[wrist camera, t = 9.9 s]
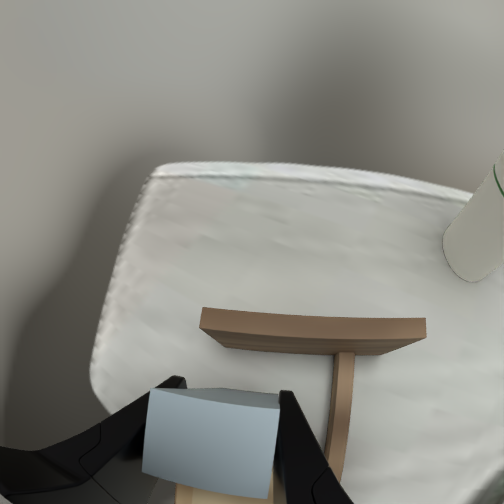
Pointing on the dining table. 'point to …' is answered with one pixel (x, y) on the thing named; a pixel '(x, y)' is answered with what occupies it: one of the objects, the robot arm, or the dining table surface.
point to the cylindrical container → (479, 230)
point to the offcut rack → (306, 342)
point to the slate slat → (212, 439)
